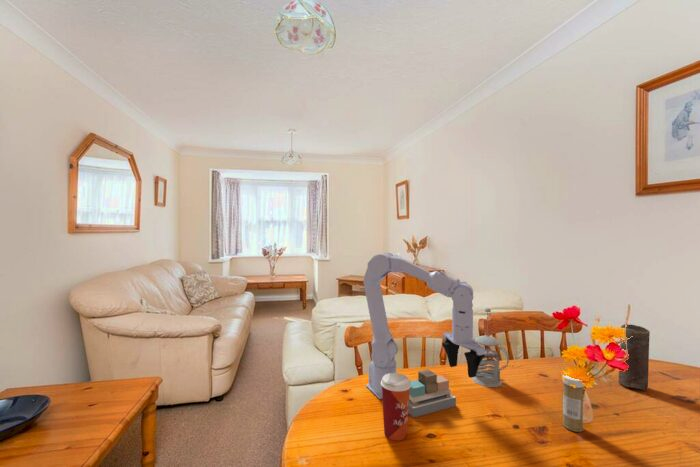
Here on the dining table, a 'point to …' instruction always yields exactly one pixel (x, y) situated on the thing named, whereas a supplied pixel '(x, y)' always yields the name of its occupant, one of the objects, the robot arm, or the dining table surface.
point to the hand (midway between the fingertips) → (462, 371)
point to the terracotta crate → (442, 383)
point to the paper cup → (395, 405)
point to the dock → (431, 405)
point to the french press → (489, 361)
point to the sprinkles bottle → (573, 404)
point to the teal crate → (417, 388)
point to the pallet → (427, 396)
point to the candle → (636, 358)
